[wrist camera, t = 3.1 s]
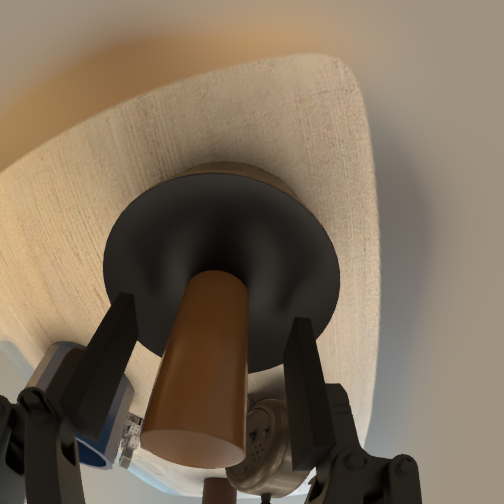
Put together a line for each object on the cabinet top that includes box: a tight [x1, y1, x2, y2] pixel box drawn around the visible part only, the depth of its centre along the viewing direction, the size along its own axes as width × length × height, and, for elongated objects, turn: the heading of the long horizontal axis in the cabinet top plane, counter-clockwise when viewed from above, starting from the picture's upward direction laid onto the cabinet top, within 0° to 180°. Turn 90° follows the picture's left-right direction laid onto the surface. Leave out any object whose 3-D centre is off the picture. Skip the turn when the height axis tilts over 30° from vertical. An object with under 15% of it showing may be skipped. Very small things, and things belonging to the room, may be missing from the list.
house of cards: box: [119, 414, 148, 469], centre depth 32 cm, size 9×9×8 cm
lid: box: [103, 170, 340, 469], centre depth 12 cm, size 14×14×10 cm
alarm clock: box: [225, 394, 310, 504], centre depth 23 cm, size 11×5×16 cm, turn 147°
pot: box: [16, 342, 134, 470], centre depth 25 cm, size 13×13×10 cm
